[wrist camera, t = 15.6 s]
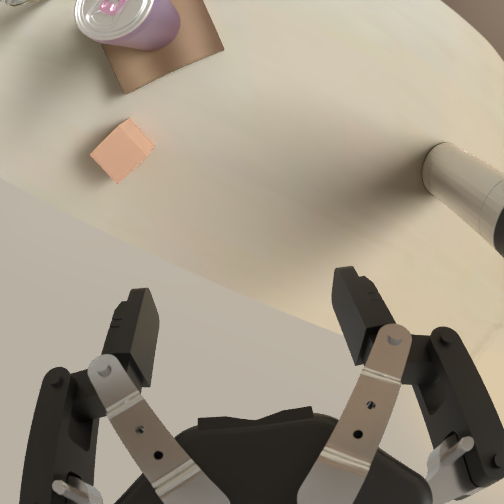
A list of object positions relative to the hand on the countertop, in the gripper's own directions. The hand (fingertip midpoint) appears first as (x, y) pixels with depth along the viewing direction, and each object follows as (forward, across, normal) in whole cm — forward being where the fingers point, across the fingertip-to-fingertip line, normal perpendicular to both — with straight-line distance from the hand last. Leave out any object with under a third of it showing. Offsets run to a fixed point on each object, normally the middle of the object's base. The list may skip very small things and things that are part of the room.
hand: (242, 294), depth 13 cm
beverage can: (+25, +7, -15) cm, 30 cm away
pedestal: (+28, +7, -15) cm, 33 cm away
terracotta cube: (+28, +13, -1) cm, 31 cm away
